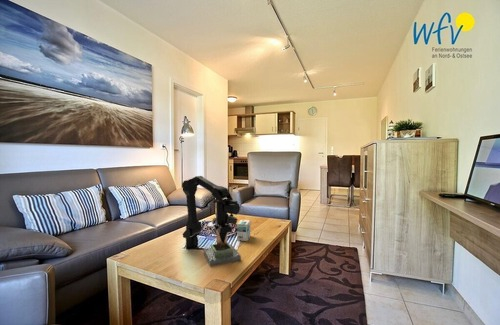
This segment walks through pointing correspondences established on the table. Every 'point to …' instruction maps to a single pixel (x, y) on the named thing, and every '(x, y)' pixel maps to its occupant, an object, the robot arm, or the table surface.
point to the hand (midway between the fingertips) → (221, 240)
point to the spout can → (219, 242)
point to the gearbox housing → (221, 255)
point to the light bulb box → (243, 230)
